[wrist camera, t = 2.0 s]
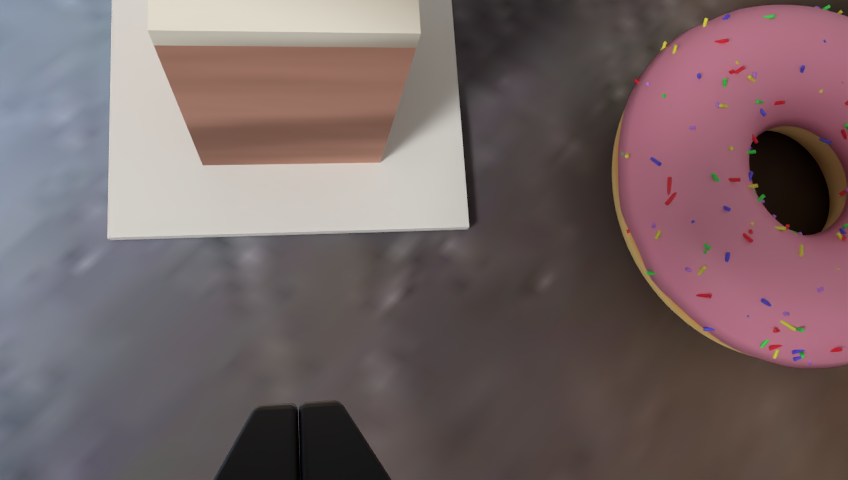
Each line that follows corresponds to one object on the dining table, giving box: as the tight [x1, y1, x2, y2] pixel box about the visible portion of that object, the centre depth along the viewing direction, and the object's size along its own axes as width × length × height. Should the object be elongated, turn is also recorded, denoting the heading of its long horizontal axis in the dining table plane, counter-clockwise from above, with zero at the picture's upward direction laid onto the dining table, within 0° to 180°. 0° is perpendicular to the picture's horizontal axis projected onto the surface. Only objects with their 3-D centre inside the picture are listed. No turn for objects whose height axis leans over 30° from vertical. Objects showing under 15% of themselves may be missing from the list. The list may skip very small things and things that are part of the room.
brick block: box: [148, 0, 421, 165], centre depth 19 cm, size 5×5×8 cm
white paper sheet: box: [107, 0, 469, 240], centre depth 23 cm, size 14×10×1 cm
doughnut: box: [612, 5, 848, 369], centre depth 23 cm, size 11×11×4 cm
